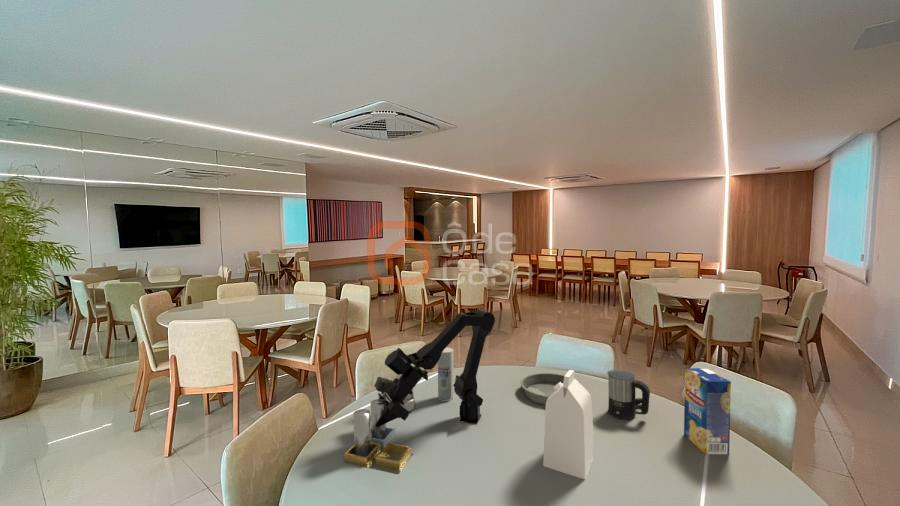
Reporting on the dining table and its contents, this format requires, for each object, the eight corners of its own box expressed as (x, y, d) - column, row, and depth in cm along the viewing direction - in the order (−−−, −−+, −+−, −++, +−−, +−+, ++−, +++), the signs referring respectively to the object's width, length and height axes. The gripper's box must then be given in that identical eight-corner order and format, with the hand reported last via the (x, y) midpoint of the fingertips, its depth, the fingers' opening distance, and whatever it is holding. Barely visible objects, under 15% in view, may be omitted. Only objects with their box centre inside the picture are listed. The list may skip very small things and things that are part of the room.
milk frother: (607, 417, 132) (607, 376, 131) (606, 399, 146) (607, 362, 146) (652, 424, 126) (652, 382, 126) (647, 405, 141) (647, 367, 140)
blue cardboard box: (705, 434, 120) (706, 368, 119) (729, 454, 109) (731, 381, 108) (683, 434, 120) (684, 368, 119) (705, 454, 109) (707, 381, 108)
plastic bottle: (412, 415, 135) (411, 361, 134) (394, 413, 137) (393, 360, 136) (417, 407, 142) (416, 355, 141) (400, 405, 143) (399, 355, 142)
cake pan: (534, 378, 169) (534, 368, 169) (589, 391, 155) (590, 380, 154) (510, 398, 149) (510, 387, 149) (571, 414, 135) (571, 402, 134)
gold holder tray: (413, 456, 110) (413, 447, 110) (398, 477, 100) (398, 467, 100) (361, 446, 116) (361, 437, 116) (342, 465, 106) (342, 455, 106)
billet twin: (374, 452, 111) (373, 410, 110) (365, 461, 106) (364, 417, 105) (360, 449, 112) (359, 408, 112) (351, 458, 108) (350, 415, 107)
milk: (585, 479, 99) (585, 384, 97) (543, 465, 105) (543, 376, 103) (594, 456, 109) (594, 370, 108) (555, 445, 115) (555, 363, 114)
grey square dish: (395, 437, 120) (395, 428, 120) (383, 450, 113) (383, 440, 113) (374, 433, 123) (374, 424, 123) (362, 446, 116) (362, 436, 116)
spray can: (435, 400, 147) (434, 351, 146) (441, 393, 153) (441, 346, 152) (450, 403, 145) (449, 353, 144) (456, 396, 151) (455, 348, 150)
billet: (389, 439, 120) (388, 400, 119) (382, 447, 115) (381, 406, 114) (376, 436, 121) (375, 398, 121) (368, 444, 117) (367, 404, 116)
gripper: (382, 359, 127) (350, 397, 123) (398, 378, 110) (361, 422, 106) (404, 378, 131) (374, 415, 127) (423, 398, 114) (389, 442, 110)
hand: (374, 422), depth 117 cm, fingers closed on billet, 5 cm apart
